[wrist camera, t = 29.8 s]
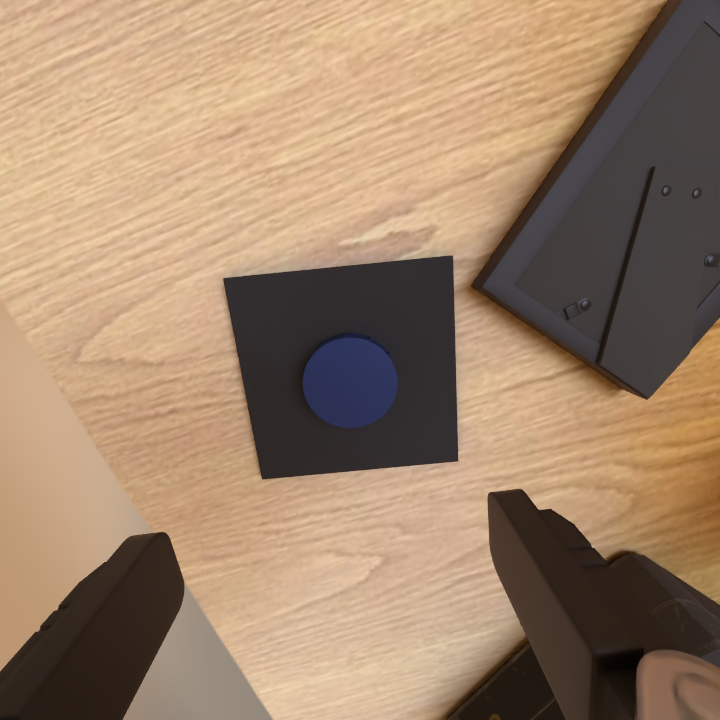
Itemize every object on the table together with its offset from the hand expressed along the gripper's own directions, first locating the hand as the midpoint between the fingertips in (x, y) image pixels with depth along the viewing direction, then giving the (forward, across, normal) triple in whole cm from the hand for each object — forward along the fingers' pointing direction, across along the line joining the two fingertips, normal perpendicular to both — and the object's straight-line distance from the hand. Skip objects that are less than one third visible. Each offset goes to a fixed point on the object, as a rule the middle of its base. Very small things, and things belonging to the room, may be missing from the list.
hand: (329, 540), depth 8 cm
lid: (+13, 0, 0) cm, 13 cm away
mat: (+15, 0, 0) cm, 15 cm away
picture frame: (+15, -20, -7) cm, 26 cm away
